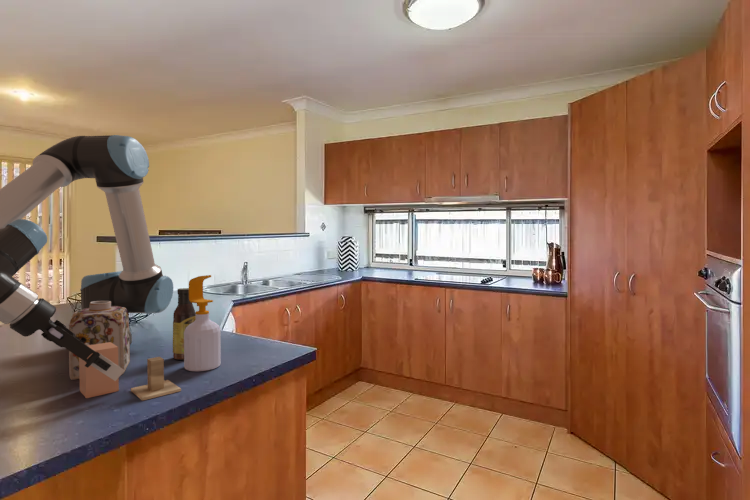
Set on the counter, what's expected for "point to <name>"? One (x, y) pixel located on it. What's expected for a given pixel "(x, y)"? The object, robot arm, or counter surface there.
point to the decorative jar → (101, 331)
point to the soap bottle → (201, 333)
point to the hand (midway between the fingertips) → (111, 368)
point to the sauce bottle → (182, 321)
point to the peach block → (98, 373)
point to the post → (155, 381)
